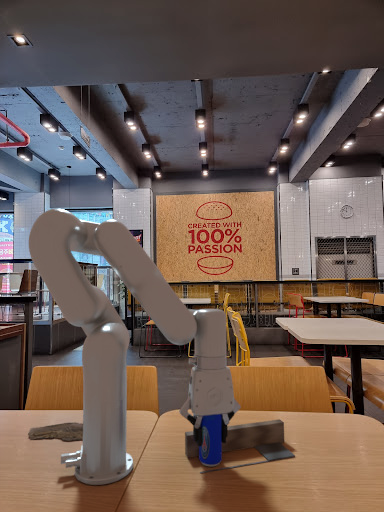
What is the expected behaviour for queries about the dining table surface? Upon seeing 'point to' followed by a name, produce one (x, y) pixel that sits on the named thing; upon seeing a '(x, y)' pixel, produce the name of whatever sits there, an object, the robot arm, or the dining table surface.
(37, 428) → the wooden fragment
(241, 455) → the dining table surface
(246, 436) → the guide fence
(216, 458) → the beverage can
